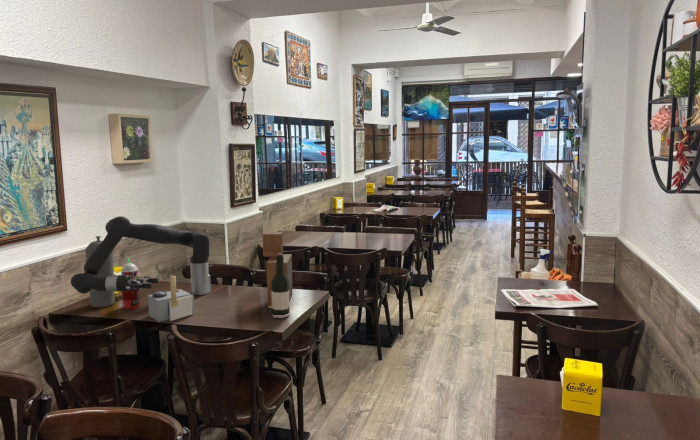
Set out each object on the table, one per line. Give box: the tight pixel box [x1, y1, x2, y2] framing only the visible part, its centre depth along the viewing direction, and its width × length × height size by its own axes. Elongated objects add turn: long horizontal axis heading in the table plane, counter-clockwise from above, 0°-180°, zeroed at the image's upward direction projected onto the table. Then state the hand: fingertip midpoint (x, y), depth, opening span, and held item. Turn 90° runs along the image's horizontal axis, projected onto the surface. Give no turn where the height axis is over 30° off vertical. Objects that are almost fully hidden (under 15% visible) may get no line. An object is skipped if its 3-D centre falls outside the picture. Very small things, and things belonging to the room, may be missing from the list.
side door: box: [169, 275, 195, 322], centre depth 241 cm, size 13×3×21 cm, turn 143°
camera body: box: [147, 288, 192, 323], centre depth 246 cm, size 16×11×11 cm
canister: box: [84, 235, 116, 308], centre depth 260 cm, size 13×13×35 cm
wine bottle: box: [271, 253, 290, 315], centre depth 245 cm, size 8×8×30 cm
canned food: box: [121, 290, 141, 310], centre depth 258 cm, size 8×8×11 cm
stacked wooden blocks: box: [262, 231, 293, 306], centre depth 265 cm, size 19×14×35 cm
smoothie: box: [120, 257, 139, 279], centre depth 278 cm, size 8×8×20 cm
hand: (154, 283), depth 236 cm, fingers open, 8 cm apart
